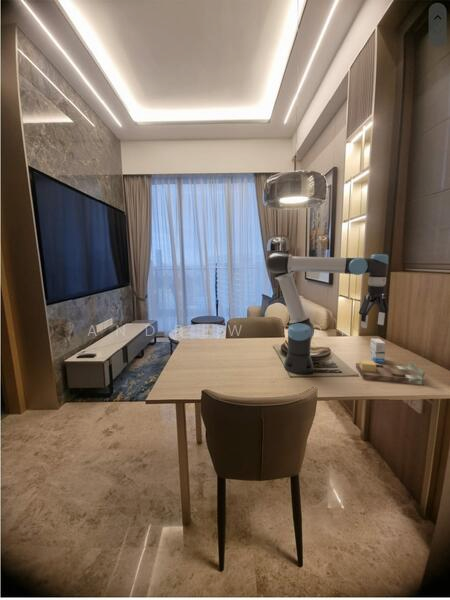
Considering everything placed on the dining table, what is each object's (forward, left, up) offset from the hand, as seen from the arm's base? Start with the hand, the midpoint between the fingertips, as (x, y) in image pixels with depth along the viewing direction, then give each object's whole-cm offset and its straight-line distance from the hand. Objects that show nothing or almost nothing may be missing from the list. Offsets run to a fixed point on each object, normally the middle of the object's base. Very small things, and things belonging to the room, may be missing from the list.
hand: (372, 326), depth 127 cm
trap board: (+6, -7, -23) cm, 25 cm away
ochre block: (-3, -7, -21) cm, 22 cm away
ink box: (+7, +13, -24) cm, 28 cm away
